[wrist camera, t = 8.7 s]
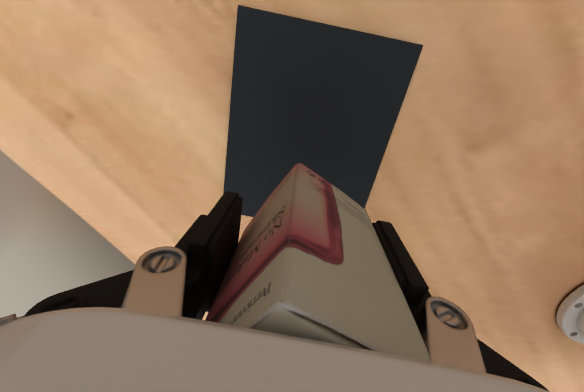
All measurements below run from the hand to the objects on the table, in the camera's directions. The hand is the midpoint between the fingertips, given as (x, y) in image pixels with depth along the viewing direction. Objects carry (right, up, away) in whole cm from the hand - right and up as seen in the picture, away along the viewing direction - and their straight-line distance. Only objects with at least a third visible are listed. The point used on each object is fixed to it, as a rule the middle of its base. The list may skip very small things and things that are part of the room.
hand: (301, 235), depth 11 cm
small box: (0, +1, +1) cm, 2 cm away
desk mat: (+1, +8, +14) cm, 16 cm away
